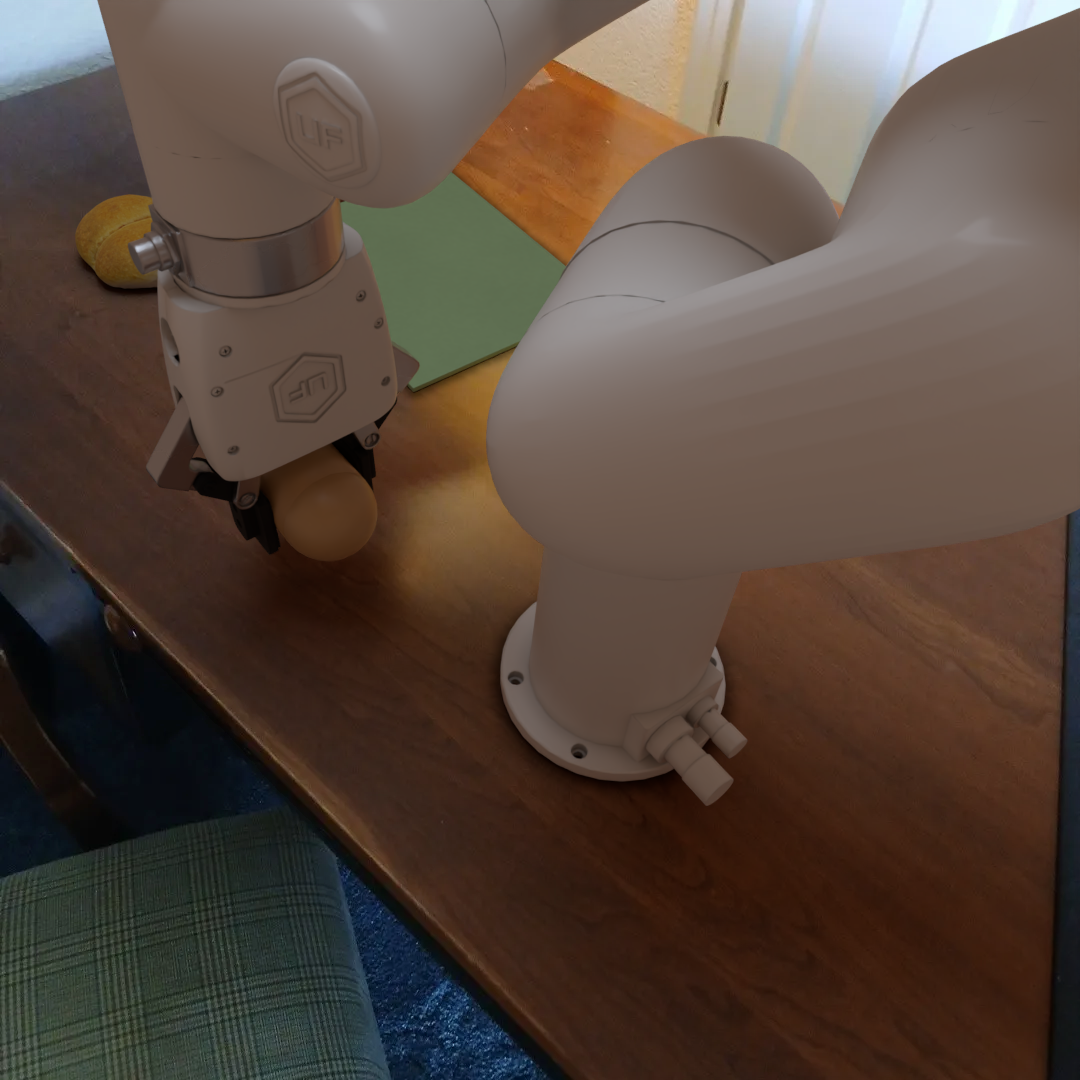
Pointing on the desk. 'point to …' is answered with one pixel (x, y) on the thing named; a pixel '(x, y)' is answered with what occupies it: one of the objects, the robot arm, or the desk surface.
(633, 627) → the robot arm
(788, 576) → the desk surface
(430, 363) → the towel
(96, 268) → the bread roll
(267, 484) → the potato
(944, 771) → the desk surface
